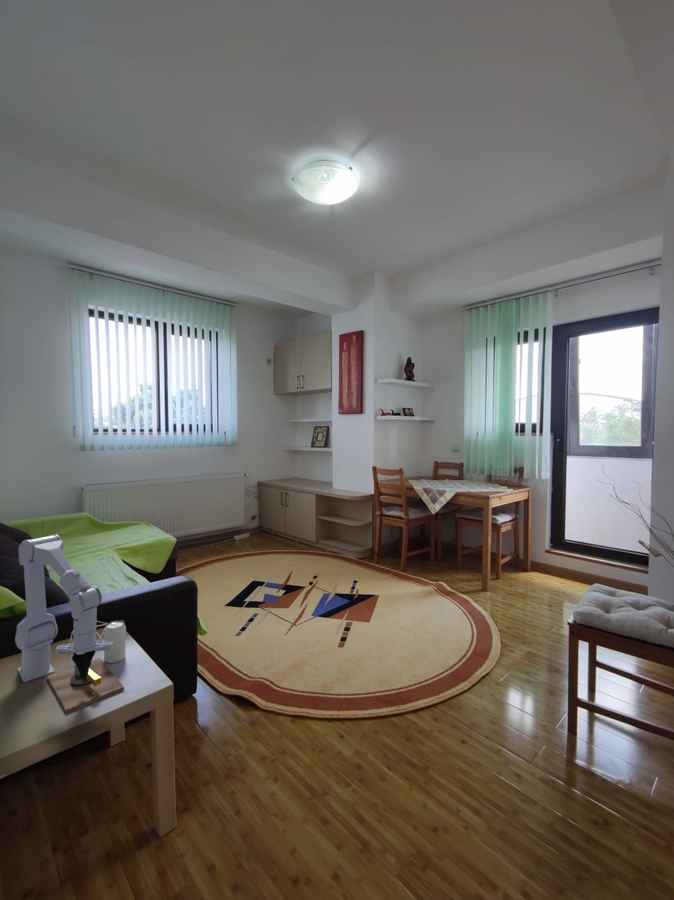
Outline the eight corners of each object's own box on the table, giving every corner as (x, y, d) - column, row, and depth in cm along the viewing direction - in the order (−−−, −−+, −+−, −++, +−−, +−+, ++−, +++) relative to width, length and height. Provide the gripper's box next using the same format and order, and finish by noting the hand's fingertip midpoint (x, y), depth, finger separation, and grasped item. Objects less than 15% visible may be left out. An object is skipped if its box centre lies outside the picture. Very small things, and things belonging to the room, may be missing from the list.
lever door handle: (66, 679, 126) (66, 666, 126) (91, 669, 131) (91, 657, 131) (84, 697, 118) (85, 683, 118) (110, 685, 123) (110, 672, 123)
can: (120, 651, 145) (121, 618, 144) (128, 658, 141) (129, 624, 140) (100, 658, 140) (101, 624, 139) (108, 666, 136) (109, 630, 135)
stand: (46, 678, 128) (46, 674, 128) (99, 660, 139) (99, 657, 139) (66, 713, 113) (66, 709, 113) (123, 689, 124) (124, 686, 124)
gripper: (50, 639, 114) (50, 686, 115) (108, 635, 118) (107, 681, 118) (61, 627, 121) (60, 672, 122) (115, 623, 125) (114, 667, 125)
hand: (84, 675), depth 120 cm, fingers closed
